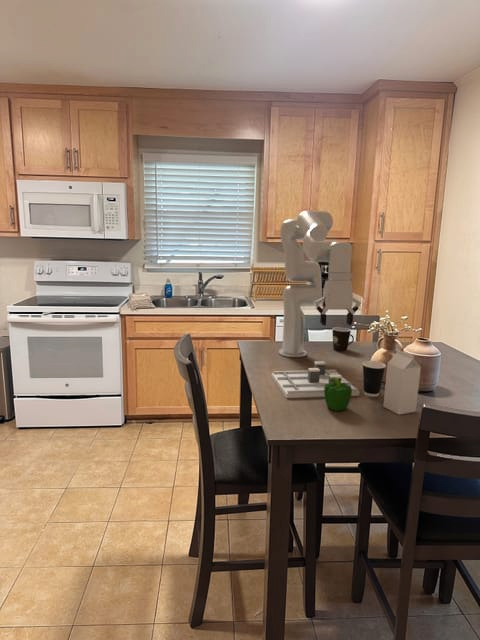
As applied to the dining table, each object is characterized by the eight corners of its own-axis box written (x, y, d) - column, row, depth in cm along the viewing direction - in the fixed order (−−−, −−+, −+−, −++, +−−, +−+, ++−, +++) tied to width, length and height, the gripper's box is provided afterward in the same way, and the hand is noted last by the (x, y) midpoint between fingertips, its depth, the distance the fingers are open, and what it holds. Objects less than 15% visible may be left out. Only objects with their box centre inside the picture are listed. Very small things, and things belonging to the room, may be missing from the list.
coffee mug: (328, 347, 219) (330, 327, 217) (345, 347, 220) (347, 327, 218) (336, 354, 208) (337, 332, 206) (354, 353, 209) (355, 333, 207)
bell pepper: (354, 412, 142) (357, 382, 140) (331, 414, 140) (333, 383, 138) (341, 402, 150) (343, 373, 148) (319, 404, 148) (321, 375, 145)
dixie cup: (386, 393, 159) (389, 363, 157) (378, 400, 153) (381, 369, 150) (364, 388, 164) (367, 359, 161) (356, 394, 157) (358, 364, 155)
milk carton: (398, 415, 140) (404, 356, 137) (382, 406, 147) (388, 350, 143) (415, 412, 143) (422, 354, 139) (399, 404, 150) (405, 348, 146)
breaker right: (328, 387, 158) (329, 374, 158) (337, 386, 159) (338, 374, 158) (330, 389, 156) (331, 376, 155) (340, 389, 157) (341, 376, 156)
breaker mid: (307, 380, 165) (308, 368, 164) (317, 379, 166) (317, 367, 165) (309, 382, 163) (310, 370, 162) (319, 381, 164) (319, 369, 163)
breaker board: (271, 376, 173) (271, 371, 173) (335, 375, 178) (336, 369, 177) (286, 398, 152) (286, 391, 152) (359, 395, 156) (359, 389, 156)
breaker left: (313, 372, 174) (314, 361, 173) (322, 372, 174) (323, 361, 174) (315, 374, 172) (316, 363, 171) (324, 374, 172) (325, 363, 171)
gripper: (357, 276, 165) (354, 322, 168) (312, 276, 162) (310, 323, 165) (366, 278, 157) (363, 326, 160) (319, 278, 155) (316, 327, 158)
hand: (336, 324), depth 163 cm, fingers open, 9 cm apart
